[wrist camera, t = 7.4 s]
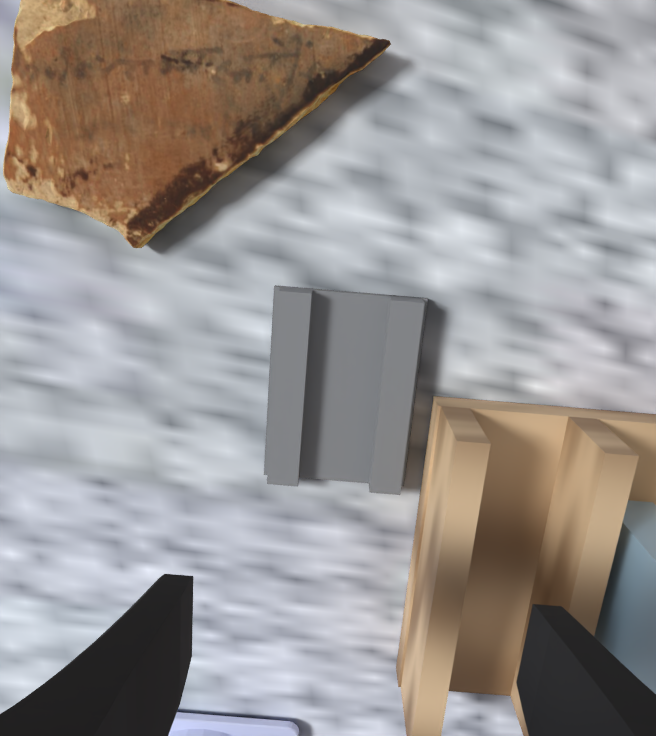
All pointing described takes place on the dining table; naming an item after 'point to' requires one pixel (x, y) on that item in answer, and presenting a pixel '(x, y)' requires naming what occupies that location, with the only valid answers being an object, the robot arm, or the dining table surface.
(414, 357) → the holder
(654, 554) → the plate
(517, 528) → the rack
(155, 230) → the shard
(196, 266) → the dining table surface
